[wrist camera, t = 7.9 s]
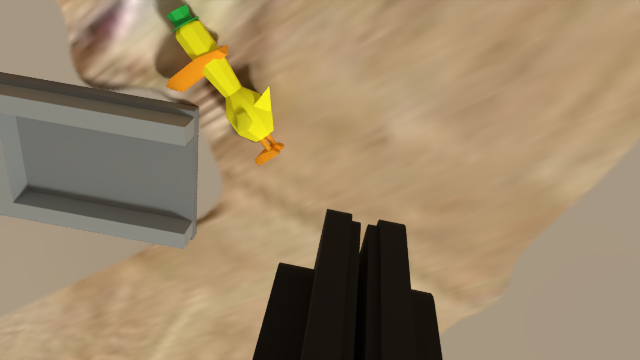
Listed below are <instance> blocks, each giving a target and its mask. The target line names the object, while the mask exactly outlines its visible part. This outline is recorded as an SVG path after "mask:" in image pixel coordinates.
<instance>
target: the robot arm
mask: <svg viewBox="0 0 640 360" xmlns="http://www.w3.org/2000/svg"><path fill="white" fill-rule="evenodd" d="M360 231H361V223H360V222H355V221H352V214H350V213H345V212H340V211H335V210H330V209H327V212H326V216H325V220H324V225H323V230H322V234H321V239H320V243H319V248H318V253H317V257H316V262H315V266H314V269H309V268H305V267H300V266H295V265H290V264H285V263H279V265H278V269H277V272H276V276H275V279H274V283H273V287H272V290H271V294H270V298H269V301H268V305H267V309H266V312H265V316H264V319H263V323H262V327H261V330H260V334H259V338H258V341H257V345H256V349H255V352H254V356H253V360H442V352H441V345H440V338H439V331H438V324H437V317H436V309H435V302H434V298H433V296H432V294H431V293H427V292H422V291H417V290H412V289H411V283H410V271H409V259H408V247H407V236H406V227H405V225H404V224H399V223H394V222H389V221H384V220H379V221H378V223H377V226H375V225H370V224H368V226H367V229H366V232H365V236H364V239H363V243H362V247H361V250H360ZM359 250H360V254H359Z"/></svg>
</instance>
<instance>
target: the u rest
mask: <svg viewBox="0 0 640 360" xmlns="http://www.w3.org/2000/svg"><path fill="white" fill-rule="evenodd" d="M198 126H199V107H195V106H190V105H184V104H178V103H173V102H167V101H161V100H156V99H150V98H144V97H138V96H133V95H127V94H121V93H116V92H110V91H105V90H99V89H93V88H88V87H82V86H76V85H71V84H65V83H59V82H54V81H48V80H42V79H36V78H31V77H25V76H20V75H14V74H8V73H3V72H0V215H4V216H9V217H14V218H20V219H25V220H31V221H36V222H41V223H47V224H52V225H58V226H63V227H68V228H73V229H79V230H84V231H90V232H95V233H101V234H106V235H111V236H116V237H122V238H127V239H133V240H138V241H144V242H149V243H154V244H159V245H165V246H170V247H176V248H181V249H184V248H185V247H186V245H187V243H188V242H189V240H193V238H194V236H195V235H196V218H197V171H198V169H197V168H198Z"/></svg>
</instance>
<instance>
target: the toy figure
mask: <svg viewBox="0 0 640 360" xmlns="http://www.w3.org/2000/svg"><path fill="white" fill-rule="evenodd" d="M167 17H168V18H169V19H170V21H171V22H172V23H173V24H174V26H175V27H176V28H175V29H173V30H172V31H171V32H175V31H176V39H177V41H178V42H179V43H180V45H181V46H182V47H183V49H184V50H185V51H186V53H187V54H188V55H189V57H190V58H191V60H192V62H191V63H189V64H188V65H187V66H186V67H184V68H183V69H182V70H181V71H179V72H178V73H177V74H176V75H174V76H173V77H172V78H171V79H170V80H168V83H167V85H166V87H168V88H170V89H172V90H176V91H180V92H183V91H185V90H186V89H188V88H189V87H191V86H192V85H193V84H195V83H196V82H197V81H199V80H200V79H201V78H203V77H204V76H205V77H206V78H207V79H208V80H209V81H210V82H211V83H212V84H213V85H214V86H215V87H216V89H217V90H218V91H219V92H220V93H221V94H222V95H223V96H224V97H225V98H226V117H227V119H228V120H229V122H230V123H231V125H232V126H233V127H234V129H235V130H236V131H237V133H238V134H239V135H240V136H243V137H245V138H248V139H250V140H253V141H255V142H257V141H260V142H261V144H262V145H263V146H264V148H265V149H264V150H263V151H262V152H261V153H260V155H259V156H258V157H257V158H256V159H255V163H256V164H257V165H261V164H263V163H265V162H266V161H268V160H270V159H271V158H273V157H274V156H276V155H277V154H279V152H280V150H281V149H283V147H284V144H282V143H276V142H275V141H274V139H273V138H272V136H271V135H270V133H271V132H272V131H273V129H274V128H273V117H272V110H271V101H270V89H269V87H268V89H267V90H266V91H265V92H264V93H263V95H262V96H261V95H260V93H257V92H255V91H252V90H249V89H247V88H244V87H242V86H241V84H240V82H239V80H238V79H237V77H236V75H235V73H234V72H233V70H232V68H231V66H230V64H229V63H228V61H227V59H226V55H227V54H228V47H227V45H225V46H222V47H219V46H218V45H217V43H216V42H215V41H214V39H213V38H212V36H211V35H210V34H209V32H208V31H207V29H206V28H205V27H204V25H203V24H202V22H201V21H195V20H197V19H198V18H199V17H198V16H197V17H195V18H193V19H192V16H191V14H190V11H189V8H188V6H187V5H184V6H182V7H180V8H178V9H176V10H174V11H172V12H171V13H169V14H168V15H167ZM264 137H266V139H267V140H268V141H269V143H270V145H269V144H268V142H267V141H266V140H265V138H264Z"/></svg>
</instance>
